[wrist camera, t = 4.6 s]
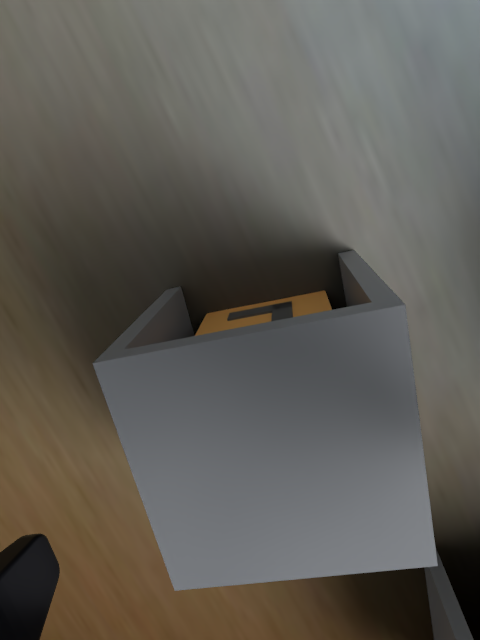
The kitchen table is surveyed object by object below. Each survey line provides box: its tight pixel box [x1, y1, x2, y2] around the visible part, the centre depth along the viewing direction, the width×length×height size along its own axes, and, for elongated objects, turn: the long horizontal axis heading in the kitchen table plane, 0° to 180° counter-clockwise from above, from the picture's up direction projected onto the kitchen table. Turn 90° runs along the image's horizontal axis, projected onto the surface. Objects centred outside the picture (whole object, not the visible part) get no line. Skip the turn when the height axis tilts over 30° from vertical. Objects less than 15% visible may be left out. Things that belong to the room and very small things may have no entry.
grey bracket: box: [93, 250, 438, 591], centre depth 12 cm, size 6×6×6 cm
